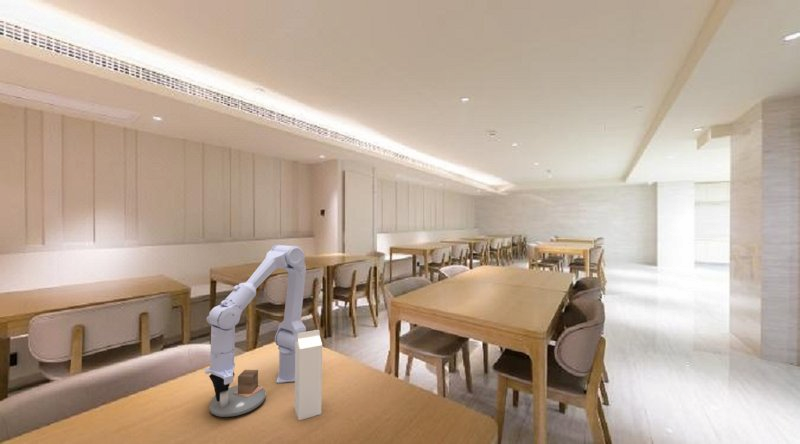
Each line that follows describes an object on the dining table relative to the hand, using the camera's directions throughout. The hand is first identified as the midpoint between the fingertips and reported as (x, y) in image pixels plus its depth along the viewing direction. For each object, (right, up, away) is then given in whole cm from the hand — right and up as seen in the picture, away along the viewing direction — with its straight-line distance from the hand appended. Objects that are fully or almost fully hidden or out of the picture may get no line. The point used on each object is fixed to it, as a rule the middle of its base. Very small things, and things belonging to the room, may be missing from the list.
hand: (221, 399), depth 85 cm
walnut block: (+4, -1, +6) cm, 8 cm away
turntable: (+3, -3, +3) cm, 5 cm away
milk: (+24, -4, 0) cm, 24 cm away
